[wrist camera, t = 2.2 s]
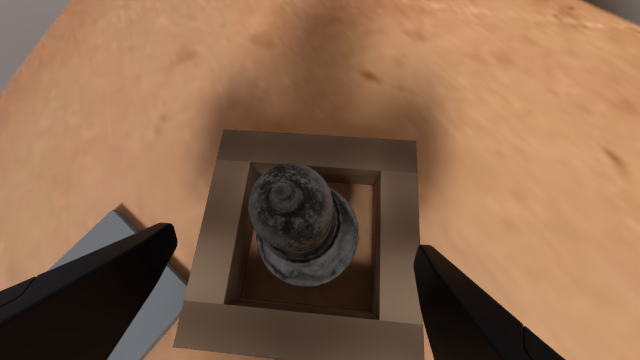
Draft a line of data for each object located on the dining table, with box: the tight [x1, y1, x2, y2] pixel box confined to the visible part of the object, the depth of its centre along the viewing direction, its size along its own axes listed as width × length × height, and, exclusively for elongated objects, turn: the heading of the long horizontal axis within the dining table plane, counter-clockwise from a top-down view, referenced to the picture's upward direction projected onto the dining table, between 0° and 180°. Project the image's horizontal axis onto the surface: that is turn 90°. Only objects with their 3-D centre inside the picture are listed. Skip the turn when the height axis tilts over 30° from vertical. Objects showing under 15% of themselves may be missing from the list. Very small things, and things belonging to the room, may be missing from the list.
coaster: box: [48, 210, 188, 360], centre depth 17 cm, size 9×9×1 cm
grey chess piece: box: [248, 163, 359, 286], centre depth 12 cm, size 6×6×12 cm
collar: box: [173, 130, 424, 360], centre depth 17 cm, size 13×13×3 cm
